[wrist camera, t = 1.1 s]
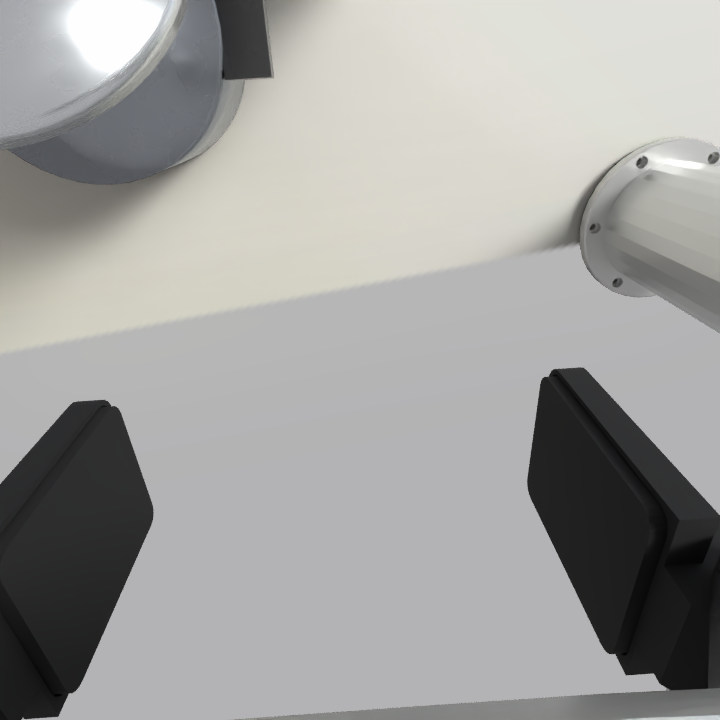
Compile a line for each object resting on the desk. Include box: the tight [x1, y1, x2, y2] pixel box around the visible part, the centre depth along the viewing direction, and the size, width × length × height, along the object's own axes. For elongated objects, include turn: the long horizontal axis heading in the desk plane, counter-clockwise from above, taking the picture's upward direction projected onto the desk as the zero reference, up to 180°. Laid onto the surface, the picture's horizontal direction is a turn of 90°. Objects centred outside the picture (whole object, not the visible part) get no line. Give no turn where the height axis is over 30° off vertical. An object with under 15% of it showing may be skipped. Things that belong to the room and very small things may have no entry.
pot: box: [8, 0, 274, 184], centre depth 29 cm, size 20×16×9 cm
